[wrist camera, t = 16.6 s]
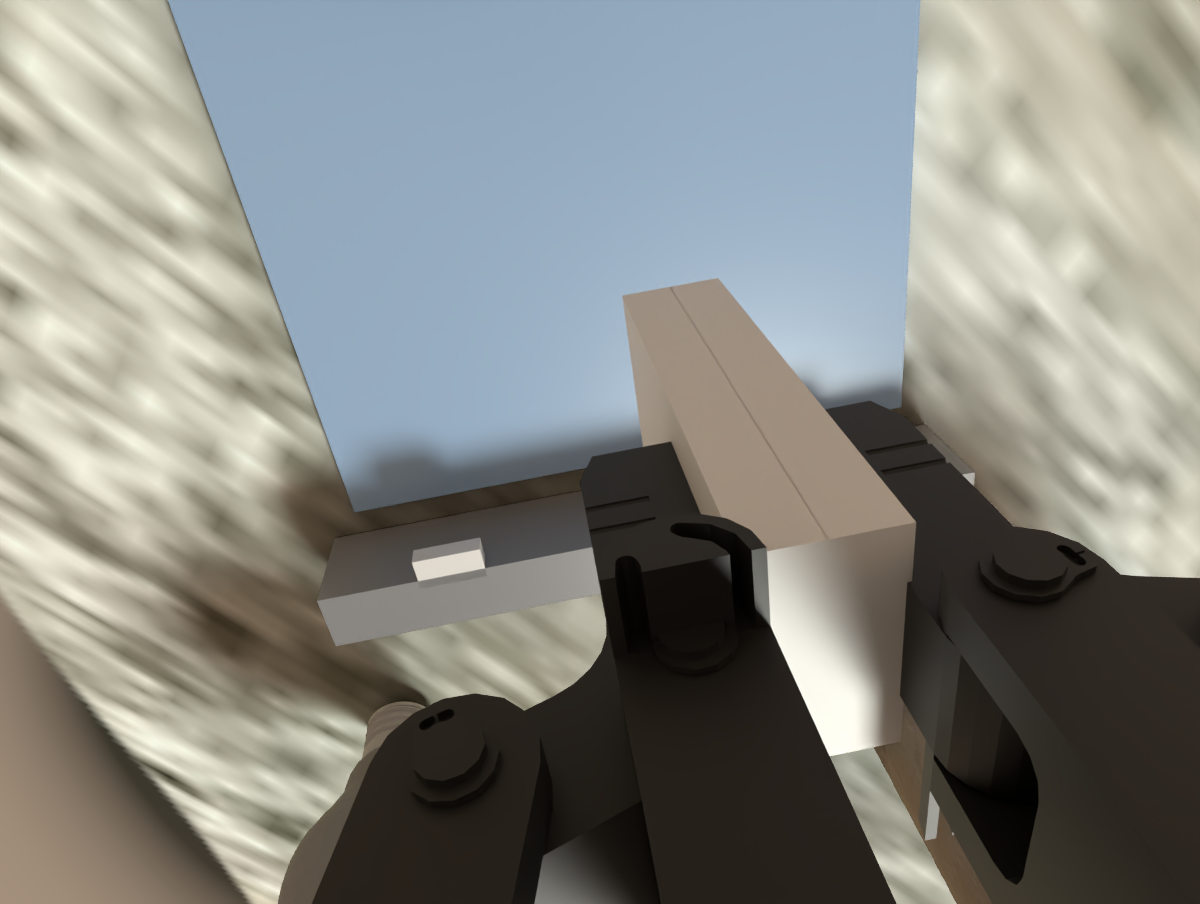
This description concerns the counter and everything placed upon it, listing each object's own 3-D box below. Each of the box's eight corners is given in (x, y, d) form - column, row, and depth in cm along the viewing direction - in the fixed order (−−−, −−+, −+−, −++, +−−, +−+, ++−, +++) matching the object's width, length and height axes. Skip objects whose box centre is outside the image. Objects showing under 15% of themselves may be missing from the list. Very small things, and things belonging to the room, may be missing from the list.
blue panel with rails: (57, -176, 17) (-26, -212, 14) (972, -322, 18) (1063, -383, 15) (350, 581, 27) (335, 646, 24) (922, 469, 28) (970, 520, 25)
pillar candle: (979, 789, 37) (1243, 1209, 24) (817, 734, 34) (1023, 1185, 21) (1133, 643, 34) (1540, 1043, 21) (969, 565, 30) (1331, 983, 17)
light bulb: (353, 639, 28) (296, 918, 20) (508, 682, 30) (518, 954, 22) (300, 751, 31) (228, 1045, 22) (447, 785, 33) (434, 1067, 24)
